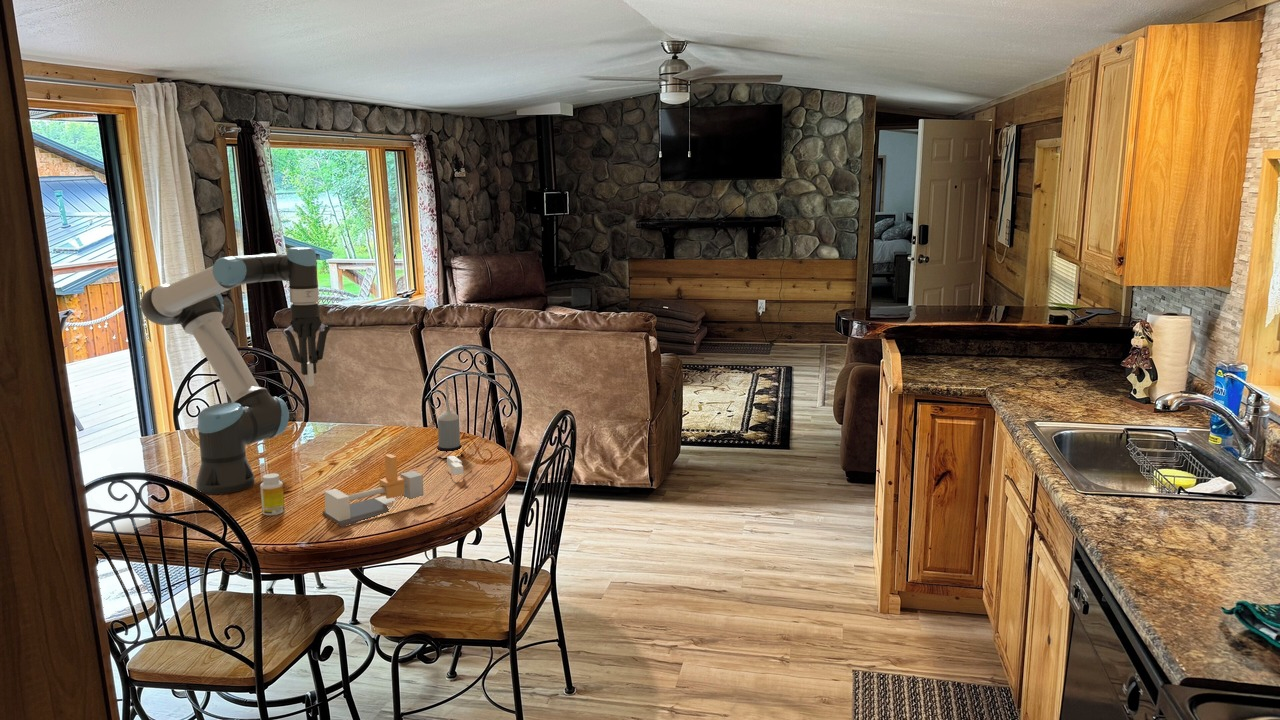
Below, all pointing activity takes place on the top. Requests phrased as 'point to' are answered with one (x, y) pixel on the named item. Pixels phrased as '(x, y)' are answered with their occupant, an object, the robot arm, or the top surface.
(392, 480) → the orange rod slider
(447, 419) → the grey bottle
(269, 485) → the supplement bottle
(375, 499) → the grey slider rail base
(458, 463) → the white blocky piece
